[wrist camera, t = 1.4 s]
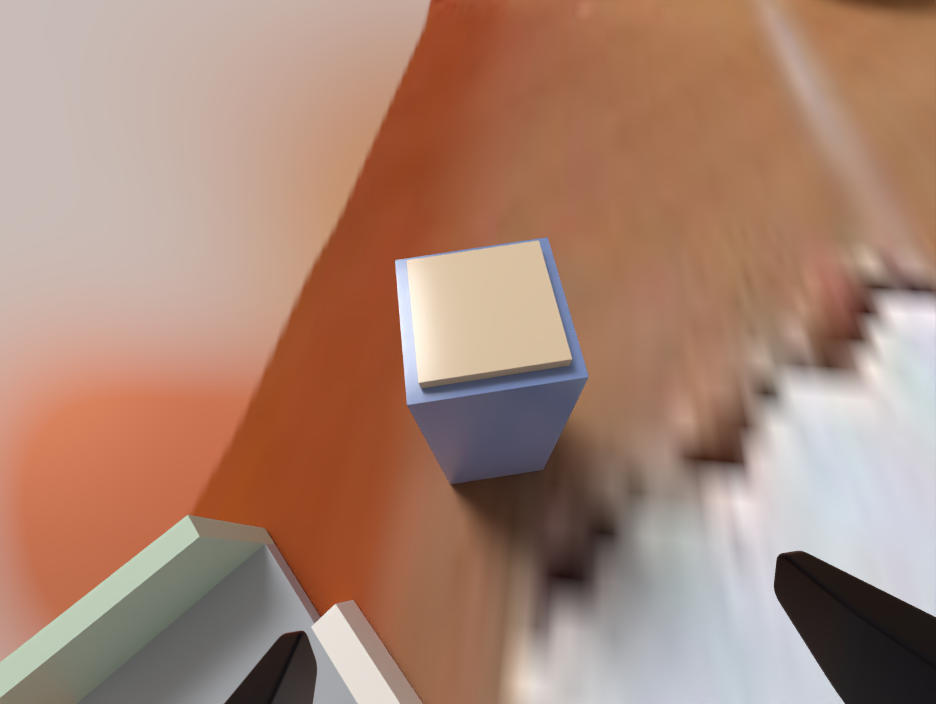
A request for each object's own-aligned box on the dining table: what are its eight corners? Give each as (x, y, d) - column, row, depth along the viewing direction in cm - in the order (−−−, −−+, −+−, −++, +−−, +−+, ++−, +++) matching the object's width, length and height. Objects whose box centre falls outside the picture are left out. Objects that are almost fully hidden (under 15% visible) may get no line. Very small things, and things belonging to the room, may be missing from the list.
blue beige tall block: (543, 469, 22) (591, 370, 11) (450, 484, 22) (404, 399, 11) (524, 383, 24) (549, 228, 13) (439, 397, 24) (392, 251, 13)
